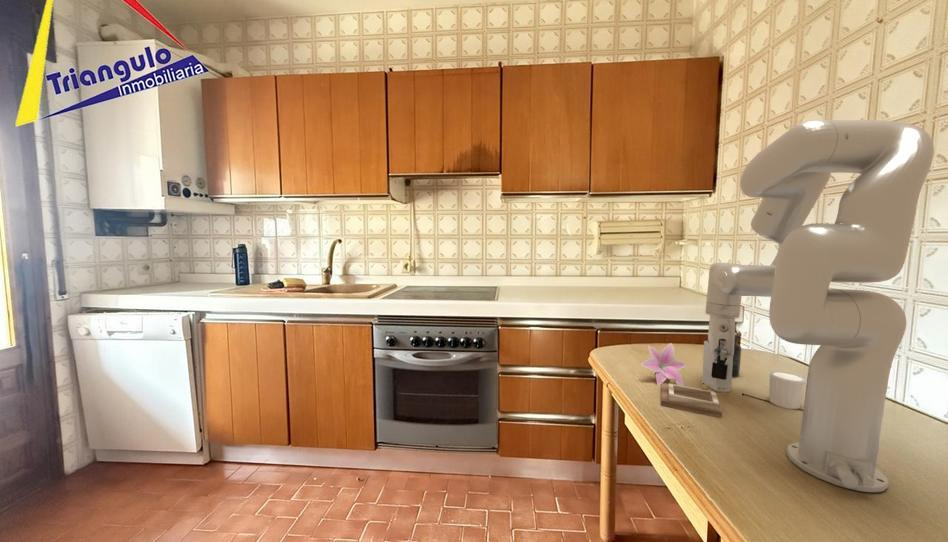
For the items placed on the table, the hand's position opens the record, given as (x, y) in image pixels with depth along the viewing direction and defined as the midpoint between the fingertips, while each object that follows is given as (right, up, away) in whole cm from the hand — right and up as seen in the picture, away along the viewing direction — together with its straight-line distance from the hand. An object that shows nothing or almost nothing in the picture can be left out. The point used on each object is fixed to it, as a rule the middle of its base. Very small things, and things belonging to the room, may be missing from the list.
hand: (716, 372), depth 99 cm
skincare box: (0, -4, 0) cm, 4 cm away
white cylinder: (+11, -6, -9) cm, 15 cm away
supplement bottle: (+10, -4, +11) cm, 15 cm away
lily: (-13, -4, +4) cm, 14 cm away
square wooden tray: (-13, -5, -9) cm, 16 cm away
